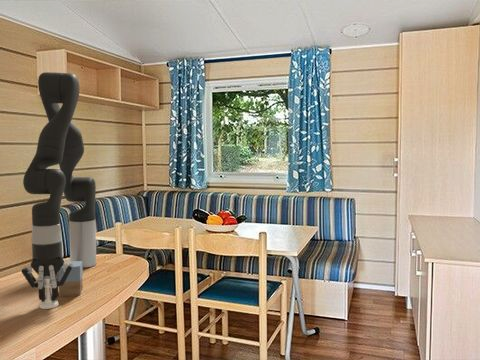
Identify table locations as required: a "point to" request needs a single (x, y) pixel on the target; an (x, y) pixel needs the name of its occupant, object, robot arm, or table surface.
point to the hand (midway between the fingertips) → (48, 300)
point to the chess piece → (48, 296)
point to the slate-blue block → (73, 271)
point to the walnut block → (71, 288)
